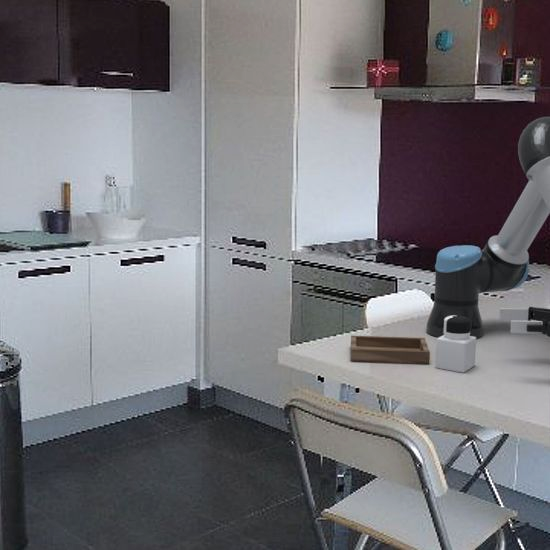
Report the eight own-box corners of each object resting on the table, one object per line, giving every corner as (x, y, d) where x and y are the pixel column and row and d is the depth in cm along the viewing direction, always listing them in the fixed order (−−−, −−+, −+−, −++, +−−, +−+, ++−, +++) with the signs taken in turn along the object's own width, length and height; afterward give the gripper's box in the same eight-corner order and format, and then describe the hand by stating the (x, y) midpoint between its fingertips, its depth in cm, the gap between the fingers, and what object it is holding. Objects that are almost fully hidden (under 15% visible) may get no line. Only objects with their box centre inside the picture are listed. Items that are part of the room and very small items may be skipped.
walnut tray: (350, 347, 214) (351, 335, 213) (424, 349, 212) (424, 337, 212) (351, 361, 201) (351, 349, 200) (429, 364, 199) (429, 352, 199)
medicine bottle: (475, 366, 199) (478, 316, 196) (463, 373, 193) (466, 322, 191) (446, 361, 202) (449, 312, 200) (434, 367, 197) (436, 317, 195)
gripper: (616, 352, 181) (515, 349, 183) (584, 326, 205) (495, 324, 207) (618, 317, 180) (516, 315, 181) (585, 295, 204) (496, 294, 206)
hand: (505, 320), depth 194 cm, fingers open, 13 cm apart
